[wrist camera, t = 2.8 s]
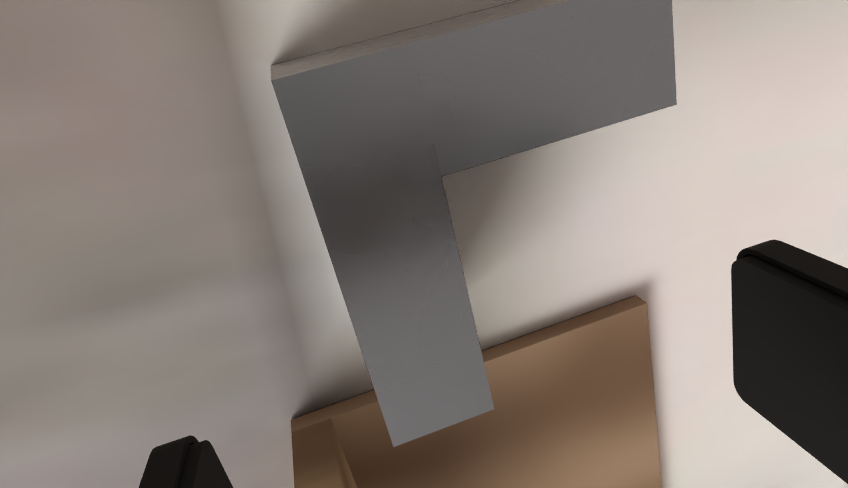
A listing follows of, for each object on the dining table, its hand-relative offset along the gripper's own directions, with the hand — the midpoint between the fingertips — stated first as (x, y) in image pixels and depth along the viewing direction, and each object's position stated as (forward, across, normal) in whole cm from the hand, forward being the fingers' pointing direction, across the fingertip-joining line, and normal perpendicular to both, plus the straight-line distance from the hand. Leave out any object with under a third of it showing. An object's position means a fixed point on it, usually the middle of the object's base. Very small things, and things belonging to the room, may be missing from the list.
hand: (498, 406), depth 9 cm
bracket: (+7, -1, -2) cm, 8 cm away
